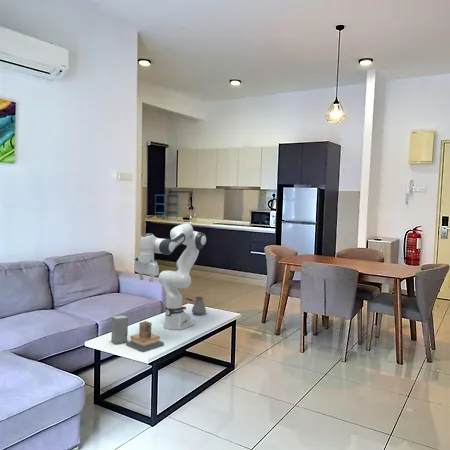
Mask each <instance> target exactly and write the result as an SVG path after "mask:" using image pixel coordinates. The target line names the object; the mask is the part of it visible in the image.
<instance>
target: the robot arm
mask: <svg viewBox="0 0 450 450" xmlns="http://www.w3.org/2000/svg"><path fill="white" fill-rule="evenodd" d="M169 233H170V234H169V236H170V238H159V237H156V236H155V235H154V234H153V233H152V232H151V233H150V232H148V233H147V232H146V233H143V234H142V235H141V236H140V241H139V250H140V252H139V255H138V256H136V257H134V265H133V266H134V271H135V273H137V274H138V276H139V281H140V280H141V281H143V280H144V276H143V274H144V275H147V276H150V278H149V279H148V281H149V282H150V283H154V278H155V277H156V276H157V277H158V282H159V283H160V284H161V286H162V288H163V290H164V293H165V309H164V310H165V316H164V322H163V325H162V326H163V328H164V329H166V330H167V329H168V330H185V329H187V328H190V327H191V326H193V325H195V323H194V322H193V321H191V316H190V314H188V313H187V312H185V310H187V307H186V306H183V295H182V294H181V292H180V291H179V290H178V289H188V288H189V287H190V286H191V284H192V277H191V275H190V272H191V269H192V267H193V266H194V264H195V263H196V261H197V259H198V256H199V253H200V250H201V249H202V248H203V247H204V246H205V245H206V243H207V236H206V234H205V233H203V232H201V231H200V232H199V231H196V230H194V227H193V226H192V225H191V224H190V223H181V224H178V225H177V226H174V227H173V228H172V229H171V230H170V232H169ZM180 245H183V246H184V245H185V246H186V248H185V249H184V250H183V252H181V255H180V256H179V258H178V259H177V260H176V267H177V270H176V271H175V270H162V271H161V272H160V270H159V269H160V268H159V267H160V266H159V264H158V262H157V260H155V254H162V255H167V256H168V255H171V254H172V253H173V252H174V251H175V249H176V248H178V247H179V246H180Z"/></svg>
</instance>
